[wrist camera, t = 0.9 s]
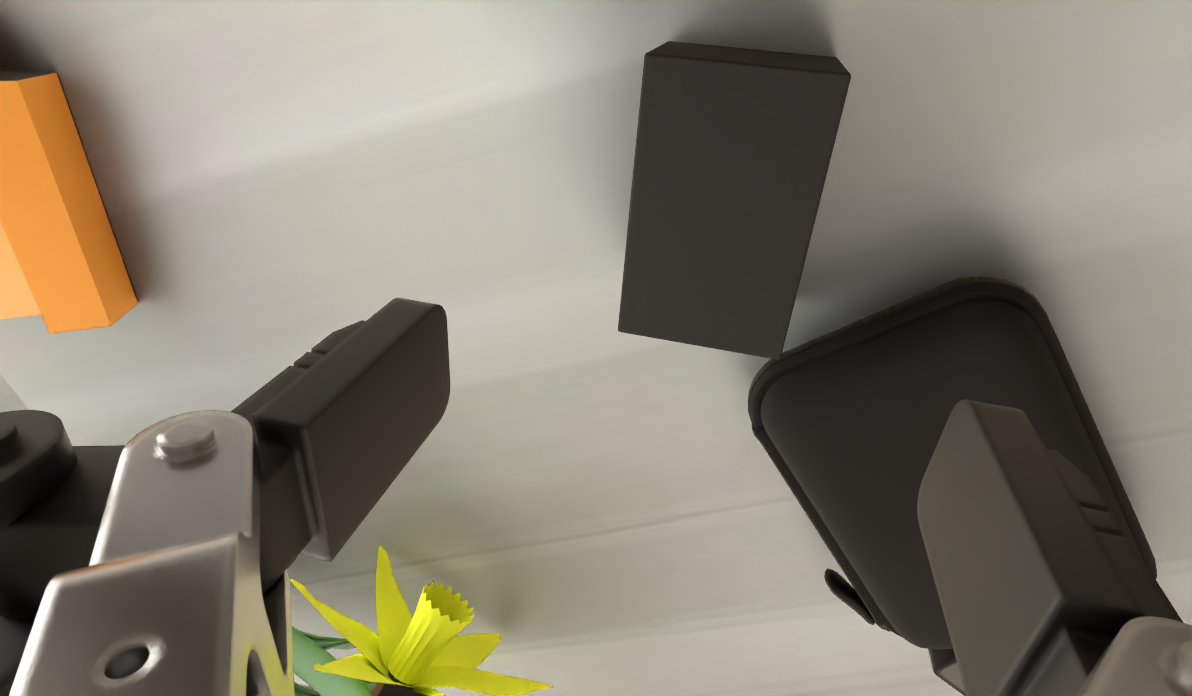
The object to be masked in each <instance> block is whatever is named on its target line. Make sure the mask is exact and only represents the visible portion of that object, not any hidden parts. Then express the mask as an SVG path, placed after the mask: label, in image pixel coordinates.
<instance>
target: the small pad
mask: <svg viewBox="0 0 1192 696" xmlns="http://www.w3.org/2000/svg"><path fill="white" fill-rule="evenodd" d="M850 79H851V74H850V73H849V72H848V71H847V69H846V68H845V67H844V66H843V65H842V63H841V62H840V61H839V60H838V59H837V58H836V57H827V56H817V55H806V54H796V53H786V52H775V51H765V50H754V49H744V48H734V47H723V46H713V45H703V44H692V43H682V42H672V41H669V42H666V43H665V44H663V45H661V46H659V47H657V48H655V49H653V50H652V51H650V52H648V53H646V54H645V57H644V68H643V78H642V88H641V98H640V109H639V119H638V129H637V139H636V150H635V160H634V170H633V180H632V191H631V201H630V211H629V222H628V232H627V242H626V252H625V263H624V273H623V283H622V293H621V304H620V314H619V324H618V331H619V332H624V333H630V334H635V335H641V336H647V337H652V338H658V339H664V340H669V341H675V342H681V343H686V344H692V345H698V346H703V347H709V348H715V349H720V350H726V351H732V352H737V353H743V354H748V355H754V356H760V357H765V358H771V359H777V360H779V359H780V358H781V354H782V350H783V346H784V342H785V338H786V334H787V330H788V326H789V322H790V318H791V314H792V310H793V306H794V302H795V298H796V294H797V290H798V286H799V282H800V278H801V274H802V270H803V266H804V262H805V258H806V254H807V250H808V246H809V242H810V238H811V234H812V230H813V227H814V223H815V219H816V215H817V211H818V207H819V203H820V199H821V195H822V191H823V187H824V183H825V179H826V175H827V171H828V167H829V163H830V159H831V155H832V151H833V147H834V143H835V139H836V135H837V131H838V127H839V123H840V119H841V115H842V111H843V107H844V103H845V99H846V95H847V91H848V87H849V83H850Z"/></svg>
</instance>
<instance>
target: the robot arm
mask: <svg viewBox="0 0 1192 696" xmlns="http://www.w3.org/2000/svg"><path fill="white" fill-rule="evenodd" d="M449 394H450V370H449V351H448V332H447V317H446V313H445V310H444V309H443V307H442V306H440V305H437V304H431V303H425V302H420V301H414V300H409V299H403V298H395V299H393V300H392V301H390V302H389V303H388V304H387V305H386V306H384V307H383V308H382V309H381V310H379V311H378V312H377V313H376V314H374V315H373V316H372V317H371V318H370V319H368V320H367V321H360V322H357V323H355V324H352V325H350V326H347V327H345V328H342V329H340V330H338V331H335V332H333V333H331V334H330V335H329V336H328V337H326V338H325V339H324V340H322V341H321V342H320V343H319V344H317V345H316V346H315V347H313V348H312V351H311V353H310V352H307V353H306V354H304V355H303V356H302V357H301V358H299V359H298V360H297V361H295V362H294V366H289V367H288V368H286V369H285V370H284V371H283V372H281V373H280V374H279V375H277V376H276V377H275V378H274V379H272V380H271V381H270V382H268V383H267V384H266V385H265V386H263V387H262V388H261V389H259V390H258V391H257V392H256V393H254V394H253V395H252V396H250V397H249V398H248V399H247V400H245V401H244V402H243V403H241V404H240V405H239V406H238V407H236V408H235V409H234V410H232V411H231V412H227V411H220V410H204V411H195V412H190V413H185V414H181V415H177V416H173V417H170V418H168V419H165V420H162V421H160V422H158V423H156V424H154V425H151V426H150V427H148V428H146V429H145V430H143V431H141V432H140V433H139V434H137V435H136V436H135V437H134V438H133V439H131V440H130V441H129V442H128V443H127V445H126V446H72V445H71V442H70V440H69V438H68V435H67V433H66V431H65V428H64V426H63V424H62V421H61V420H60V419H59V418H58V417H57V416H55V415H53V414H51V413H48V412H44V411H37V410H19V411H9V412H2V413H0V696H295V695H294V675H293V649H292V624H291V599H290V581H289V576H288V572H287V568H288V567H289V566H290V565H291V563H292V562H293V561H294V560H295V559H296V557H297V556H298V555H299V554H302V555H306V556H310V557H314V558H318V559H321V560H325V561H329V562H331V561H332V560H333V558H334V557H335V556H336V554H337V553H338V552H339V551H340V549H341V548H342V547H343V545H344V544H345V543H346V542H347V540H348V539H349V538H350V536H351V535H352V534H353V532H354V531H355V530H356V529H357V527H358V526H359V525H360V523H361V522H362V521H363V520H364V518H365V517H366V516H367V514H368V513H369V512H370V510H371V509H372V508H373V507H374V505H375V504H376V503H377V501H378V500H379V499H380V498H381V496H382V495H383V494H384V492H385V491H386V490H387V488H388V487H389V486H390V485H391V483H392V482H393V481H394V479H395V478H396V477H397V476H398V474H399V473H400V472H401V470H402V469H403V468H404V466H405V465H406V464H407V463H408V461H409V460H410V459H411V457H412V456H413V455H414V454H415V452H416V451H417V450H418V448H419V447H420V446H421V444H422V443H423V442H424V441H425V439H426V438H427V437H428V435H429V434H430V433H431V432H432V430H433V429H434V428H435V426H436V425H437V424H438V422H439V421H440V420H441V418H442V416H443V414H444V412H445V410H446V407H447V403H448V399H449ZM917 515H918V522H919V526H920V530H921V533H922V537H923V541H924V544H925V548H926V552H927V555H928V559H929V562H930V566H931V570H932V573H933V577H934V581H935V584H936V588H937V592H938V595H939V599H940V603H941V606H942V610H943V613H944V617H945V621H946V624H947V628H948V632H949V635H950V639H951V643H952V646H953V650H954V653H955V657H956V661H957V664H958V668H959V672H960V675H961V679H962V683H963V686H964V690H965V693H966V696H1192V626H1191V625H1188V624H1185V623H1183V621H1182V620H1181V618H1180V617H1179V615H1178V614H1177V612H1176V611H1175V609H1174V607H1173V606H1172V604H1171V603H1170V601H1169V600H1168V598H1167V597H1166V595H1165V594H1164V592H1163V591H1162V589H1161V587H1160V586H1159V584H1158V583H1157V581H1156V580H1155V578H1154V577H1153V575H1152V574H1151V572H1150V571H1149V569H1148V567H1147V566H1146V564H1145V563H1144V561H1143V560H1142V558H1141V557H1140V555H1139V554H1138V552H1137V551H1136V549H1135V547H1134V546H1133V544H1132V543H1131V541H1130V540H1129V538H1126V537H1124V536H1123V534H1124V531H1123V529H1122V527H1121V526H1120V524H1119V523H1118V521H1117V520H1116V518H1115V517H1114V515H1113V514H1112V513H1109V512H1108V506H1107V504H1106V503H1105V501H1104V500H1103V498H1102V497H1101V495H1100V494H1099V492H1098V491H1097V489H1096V487H1095V486H1094V484H1093V483H1092V481H1091V480H1090V478H1089V477H1087V476H1086V475H1085V474H1084V473H1083V472H1081V471H1080V470H1079V469H1078V468H1077V467H1076V466H1074V465H1073V464H1072V463H1071V462H1070V461H1069V460H1067V459H1066V458H1065V457H1064V456H1063V455H1061V454H1060V453H1059V452H1058V451H1055V450H1049V449H1046V447H1045V446H1044V444H1043V442H1042V441H1041V439H1040V437H1039V436H1038V434H1037V432H1036V431H1035V429H1034V427H1033V426H1032V424H1031V422H1030V421H1029V419H1028V417H1027V415H1026V414H1025V413H1024V412H1023V411H1022V410H1020V409H1016V408H1011V407H1005V406H999V405H994V404H988V403H983V402H977V401H971V400H966V399H963V400H960V401H959V402H958V403H957V404H956V405H955V406H954V408H953V409H952V411H951V413H950V416H949V418H948V420H947V423H946V425H945V427H944V430H943V432H942V435H941V437H940V439H939V442H938V444H937V446H936V449H935V451H934V453H933V456H932V458H931V460H930V463H929V465H928V467H927V470H926V472H925V474H924V477H923V479H922V482H921V485H920V489H919V494H918V503H917ZM378 696H428V695H425V694H421V693H418V692H415V691H411V690H408V689H404V688H401V687H397V686H394V685H390V684H387V683H385V684H384V686H383V688H382V690H381V691H380V693H379V695H378Z"/></svg>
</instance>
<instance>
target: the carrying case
mask: <svg viewBox="0 0 1192 696" xmlns="http://www.w3.org/2000/svg"><path fill="white" fill-rule="evenodd" d="M963 399H966V400H971V401H977V402H983V403H988V404H994V405H999V406H1005V407H1011V408H1016V409H1020V410H1022V411H1023V412H1024V413H1025V414H1026V415H1027V417H1028V419H1029V421H1030V422H1031V424H1032V426H1033V427H1034V429H1035V431H1036V432H1037V434H1038V436H1039V437H1040V439H1041V441H1042V442H1043V444H1044V446H1045V447H1046V449H1049V450H1055V451H1058V452H1059V453H1060V454H1061V455H1063V456H1064V457H1065V458H1066V459H1067V460H1069V461H1070V462H1071V463H1072V464H1073V465H1074V466H1076V467H1077V468H1078V469H1079V470H1080V471H1081V472H1083V473H1084V474H1085V475H1086V476H1087V477H1089V478H1090V480H1091V481H1092V483H1093V484H1094V486H1095V487H1096V489H1097V491H1098V492H1099V494H1100V495H1101V497H1102V498H1103V500H1104V501H1105V503H1106V504H1107V506H1108V512H1109V513H1112V514H1113V515H1114V517H1115V518H1116V520H1117V521H1118V523H1119V524H1120V526H1121V527H1122V529H1123V531H1124V534H1123V536H1124V537H1126V538H1129V540H1130V541H1131V543H1132V544H1133V546H1134V547H1135V549H1136V551H1137V552H1138V554H1139V555H1140V557H1141V558H1142V560H1143V561H1144V563H1145V564H1146V566H1147V567H1148V569H1149V571H1150V572H1151V574H1152V575H1153V577H1154V578H1155V580H1156V578H1157V569H1156V563H1155V558H1154V556H1153V554H1152V551H1151V549H1150V546H1149V544H1148V541H1147V539H1146V537H1145V535H1144V532H1143V530H1142V528H1141V526H1140V523H1139V521H1138V519H1137V517H1136V514H1135V512H1134V510H1133V508H1132V505H1131V503H1130V501H1129V499H1128V497H1127V494H1126V492H1125V490H1124V488H1123V485H1122V483H1121V481H1120V479H1119V476H1118V474H1117V472H1116V470H1115V467H1114V465H1113V463H1112V461H1111V458H1110V456H1109V454H1108V452H1107V449H1106V447H1105V445H1104V443H1103V440H1102V438H1101V436H1100V433H1099V431H1098V429H1097V427H1096V424H1095V422H1094V420H1093V417H1092V415H1091V413H1090V411H1089V408H1088V406H1087V404H1086V402H1085V399H1084V397H1083V395H1082V392H1081V390H1080V388H1079V386H1078V383H1077V381H1076V379H1075V376H1074V374H1073V372H1072V370H1071V367H1070V365H1069V363H1068V360H1067V358H1066V356H1065V354H1064V351H1063V349H1062V347H1061V344H1060V342H1059V340H1058V338H1057V335H1056V333H1055V331H1054V329H1053V327H1052V325H1051V323H1050V320H1049V318H1048V316H1047V314H1046V312H1045V311H1044V309H1043V308H1042V306H1041V305H1040V303H1039V302H1038V301H1037V299H1036V298H1035V296H1034V295H1033V294H1031V293H1030V292H1029V291H1027V290H1026V289H1025V288H1023V287H1021V286H1019V285H1017V284H1016V283H1013V282H1010V281H1008V280H1005V279H1000V278H995V277H985V276H978V277H966V278H960V279H956V280H953V281H950V282H948V283H945V284H943V285H941V286H938V287H936V288H934V289H931V290H929V291H927V292H924V293H922V294H920V295H917V296H915V297H913V298H910V299H908V300H906V301H903V302H901V303H899V304H896V305H894V306H892V307H889V308H887V309H885V310H882V311H880V312H878V313H875V314H873V315H871V316H868V317H866V318H864V319H861V320H859V321H857V322H854V323H852V324H850V325H847V326H845V327H843V328H840V329H838V330H836V331H833V332H831V333H829V334H826V335H824V336H822V337H819V338H817V339H815V340H812V341H810V342H808V343H805V344H803V345H800V346H798V347H796V348H793V349H791V350H789V351H786V352H784V353H782V354H781V358H780V359H779V360H777V359H771V360H770V361H769V362H767V363H766V364H765V365H764V366H763V367H762V368H761V369H760V370H759V372H758V373H757V375H756V376H755V377H754V379H753V381H752V384H751V386H750V390H749V396H748V412H749V416H750V419H751V421H752V430H753V433H754V435H755V437H756V438H757V439H758V440H759V441H760V442H761V444H762V445H763V447H764V449H765V450H766V452H767V453H768V455H769V456H770V458H771V459H772V461H773V463H774V464H775V466H776V467H777V469H778V470H779V472H780V473H781V475H782V477H783V478H784V480H785V481H786V483H787V484H788V486H789V487H790V489H791V491H792V492H793V494H794V495H795V497H796V498H797V500H798V501H799V503H800V505H801V506H802V508H803V509H804V511H805V512H806V514H807V516H808V517H809V519H810V520H811V522H812V523H813V525H814V526H815V528H816V530H817V531H818V533H819V534H820V536H821V537H822V539H823V540H824V542H825V544H826V545H827V547H828V548H829V550H830V551H831V553H832V554H833V556H834V558H835V559H836V561H837V562H838V564H839V565H840V567H841V568H842V570H843V572H844V573H845V575H846V576H847V578H848V579H849V581H850V583H851V584H852V586H853V587H854V588H853V587H852V586H851V585H850V584H849V583H848V582H847V581H846V580H845V579H844V578H843V577H842V576H840V575H839V574H838V573H837V572H835V571H834V570H831V569H827V570H826V571H825V581H826V583H827V585H828V587H829V588H830V590H831V591H832V592H833V594H834V595H836V596H837V597H838V598H839V599H841V600H842V601H843V602H845V603H846V604H847V605H848V606H850V607H851V608H852V609H853V610H855V611H856V612H857V613H858V614H859V615H860V616H862V617H863V618H864V619H865V620H866V621H867V622H868V623H869V624H872V625H874V623H876V624H877V625H878V626H879V627H881V628H882V629H884V630H887V631H892V632H894V633H895V634H897V635H899V636H901V637H903V638H904V639H905V640H907V641H908V642H910V643H912V644H914V645H916V646H918V647H921V648H929V649H941V650H942V649H951V648H953V646H952V643H951V639H950V635H949V632H948V628H947V624H946V621H945V617H944V613H943V610H942V606H941V603H940V599H939V595H938V592H937V588H936V584H935V581H934V577H933V573H932V570H931V566H930V562H929V559H928V555H927V552H926V548H925V544H924V541H923V537H922V533H921V530H920V526H919V522H918V515H917V503H918V494H919V489H920V485H921V482H922V479H923V477H924V474H925V472H926V470H927V467H928V465H929V463H930V460H931V458H932V456H933V453H934V451H935V449H936V446H937V444H938V442H939V439H940V437H941V435H942V432H943V430H944V427H945V425H946V423H947V420H948V418H949V416H950V413H951V411H952V409H953V408H954V406H955V405H956V404H957V403H958V402H959V401H960V400H963Z"/></svg>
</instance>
